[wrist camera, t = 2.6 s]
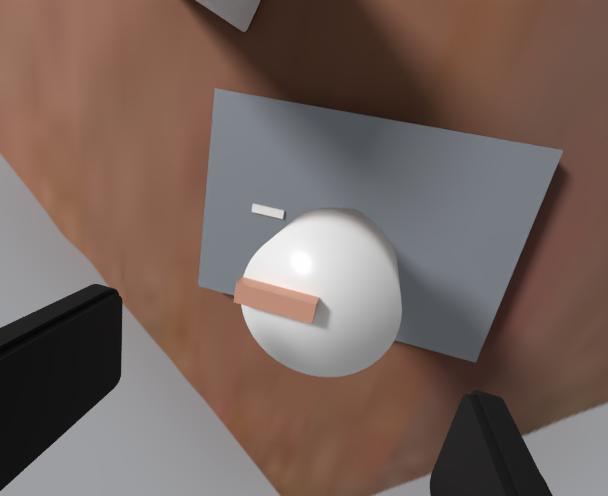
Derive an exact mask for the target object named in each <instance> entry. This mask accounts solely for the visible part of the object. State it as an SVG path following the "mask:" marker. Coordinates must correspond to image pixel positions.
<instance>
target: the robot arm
mask: <svg viewBox="0 0 608 496" xmlns="http://www.w3.org/2000/svg"><path fill="white" fill-rule="evenodd" d="M121 345H122V298H121V296H119V293H118V291H117V290H116V289H113V288H110V287H106V286H103V285H99V284H93V285H90V286H88V287H86V288H84V289H82V290H80V291H78V292H75V293H73V294H71V295H69V296H67V297H65V298H63V299H61V300H59V301H56V302H54V303H52V304H50V305H48V306H46V307H44V308H42V309H40V310H38V311H36V312H33V313H31V314H29V315H27V316H25V317H23V318H21V319H18V320H16V321H14V322H12V323H10V324H8V325H6V326H4V327H1V328H0V491H1V490H2V489H3V488H4V487H5V486H6V485H8V484H9V483H10V482H11V481H12V480H13V479H14V478H15V477H16V476H17V475H19V474H20V473H21V472H22V471H23V470H24V469H25V468H26V467H27V466H28V465H30V464H31V463H32V462H33V461H34V460H35V459H36V458H37V457H38V456H40V455H41V454H42V453H43V452H44V451H45V450H46V449H47V448H48V447H50V446H51V445H52V444H53V443H54V442H55V441H56V440H57V439H58V438H59V437H61V436H62V435H63V434H64V433H65V432H66V431H67V430H68V429H69V428H70V427H72V426H73V425H74V424H75V423H76V422H77V421H78V420H79V419H80V418H82V417H83V416H84V415H85V414H86V413H87V412H88V411H89V410H90V409H91V408H93V407H94V406H95V405H96V404H97V403H98V402H99V401H100V400H101V399H103V398H104V397H105V396H106V395H107V394H108V393H109V392H110V391H111V390H113V389H114V388H115V386H116V385H117V384H118V382H119V380H120V377H121V349H122V346H121ZM430 494H431V496H552V494H551V492H550V490H549V488H548V486H547V484H546V482H545V480H544V478H543V477H542V475H541V474H540V472H539V470H538V469H537V466H536V465H535V462H534V460H533V458H532V456H531V454H530V452H529V450H528V448H527V446H526V444H525V442H524V440H523V438H522V436H521V434H520V432H519V430H518V428H517V426H516V424H515V422H514V420H513V418H512V416H511V414H510V412H509V410H508V408H507V406H506V404H505V402H504V401H503V399H502V398H501V397H498V396H495V395H491V394H488V393H484V392H480V391H477V390H475V391H473V392H472V393H471V395H468V394H465V395H464V396H463V397H462V400H461V402H460V405H459V407H458V409H457V412H456V414H455V417H454V419H453V422H452V424H451V427H450V429H449V432H448V434H447V437H446V439H445V442H444V444H443V447H442V449H441V452H440V454H439V457H438V459H437V462H436V464H435V467H434V469H433V471H432V474H431V479H430Z"/></svg>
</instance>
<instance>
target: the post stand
mask: <svg viewBox="0 0 608 496" xmlns="http://www.w3.org/2000/svg"><path fill="white" fill-rule="evenodd" d="M562 152H563V150H558V149H553V148H547V147H542V146H536V145H530V144H525V143H519V142H513V141H508V140H502V139H497V138H491V137H485V136H480V135H474V134H468V133H463V132H457V131H451V130H446V129H440V128H435V127H429V126H423V125H418V124H412V123H406V122H401V121H395V120H390V119H384V118H378V117H373V116H367V115H361V114H356V113H350V112H345V111H339V110H333V109H328V108H322V107H316V106H311V105H305V104H300V103H294V102H288V101H283V100H277V99H271V98H266V97H260V96H255V95H249V94H243V93H238V92H232V91H226V90H221V89H215V93H214V104H213V116H212V128H211V140H210V151H209V163H208V175H207V187H206V198H205V210H204V222H203V234H202V245H201V257H200V269H199V281H198V286H201V287H204V288H208V289H212V290H215V291H219V292H222V293H226V294H230V295H233V296H234V294H235V286H236V282H237V281H238V280H239V279H241V278H242V277H243V276H244V273H245V270H246V268H247V266H248V264H249V262H250V260H251V259H252V257H253V256H254V255H255V253H256V252H257V251H258V250H259V249H260V248H261V247H262V246H263V245H264V244H265V243H267V242H268V241H269V240H270V239H271V238H273V237H274V236H275V235H276V234H277V233H279V232H280V231H281V230H282V229H283V228H285V227H286V226H287V225H288V224H289V223H291V222H292V221H293V220H295V219H296V218H297V217H299V216H301V215H302V214H304V213H307V212H309V211H312V210H315V209H319V208H327V207H336V208H344V209H348V210H352V211H355V212H357V213H360V214H362V215H364V216H365V217H367V218H369V219H370V220H372V221H373V222H374V223H375V224H377V225H378V226H379V227H380V228H381V229H382V230H383V232H384V233H385V234H386V236H387V237H388V238H389V240H390V242H391V244H392V246H393V249H394V251H395V254H396V259H397V265H398V274H399V283H400V292H401V303H402V316H401V323H400V327H399V330H398V333H397V335H396V338H395V341H399V342H403V343H406V344H410V345H414V346H417V347H421V348H424V349H428V350H432V351H435V352H439V353H442V354H446V355H450V356H453V357H457V358H460V359H464V360H468V361H471V362H475V363H476V361H477V359H478V356H479V354H480V351H481V349H482V347H483V344H484V342H485V339H486V337H487V334H488V332H489V330H490V327H491V325H492V322H493V320H494V317H495V315H496V313H497V310H498V308H499V305H500V303H501V300H502V298H503V296H504V293H505V291H506V288H507V286H508V283H509V281H510V279H511V276H512V274H513V271H514V269H515V266H516V264H517V262H518V259H519V257H520V254H521V252H522V249H523V247H524V245H525V242H526V240H527V237H528V235H529V233H530V230H531V228H532V225H533V223H534V220H535V218H536V216H537V213H538V211H539V208H540V206H541V203H542V201H543V199H544V196H545V194H546V191H547V189H548V186H549V184H550V182H551V179H552V177H553V174H554V172H555V169H556V167H557V165H558V162H559V160H560V157H561V155H562Z"/></svg>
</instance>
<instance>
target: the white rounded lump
mask: <svg viewBox="0 0 608 496" xmlns="http://www.w3.org/2000/svg"><path fill="white" fill-rule="evenodd" d="M234 303H238V304H241V306H242V311H243V315H244V318H245V321H246V324H247V326H248V328H249V330H250V332H251V333H252V335H253V336H254V338H255V340H256V341H257V342H258V343H259V345H260V346H261V347H262V348H263V349H264V350H265V351H266V352H267V353H268V354H269V355H270V356H272V357H273V358H274V359H275V360H277V361H278V362H280V363H282V364H283V365H285V366H287V367H289V368H291V369H293V370H296V371H298V372H301V373H304V374H308V375H312V376H320V377H338V376H345V375H349V374H353V373H356V372H359V371H361V370H363V369H365V368H367V367H369V366H371V365H372V364H373V363H375V362H376V361H378V360H379V359H380V358H381V357H382V356H383V355H384V354H385V353H386V352H387V350H388V349H389V348H390V347H391V345H392V343H393V341H394V340H395V338H396V335H397V333H398V330H399V327H400V323H401V316H402V303H401V292H400V283H399V274H398V265H397V259H396V254H395V251H394V249H393V246H392V244H391V242H390V240H389V238H388V237H387V236H386V234H385V233H384V232H383V230H382V229H381V228H380V227H379V226H378V225H377V224H375V223H374V222H373V221H372V220H370V219H369V218H367V217H365V216H364V215H362V214H360V213H357V212H355V211H352V210H348V209H344V208H336V207H327V208H319V209H315V210H312V211H309V212H307V213H304V214H302V215H301V216H299V217H297V218H296V219H295V220H293V221H292V222H291V223H289V224H288V225H287V226H286V227H285V228H283V229H282V230H281V231H280V232H279V233H277V234H276V235H275V236H274V237H273V238H271V239H270V240H269V241H268V242H267V243H265V244H264V245H263V246H262V247H261V248H260V249H259V250H258V251H257V252H256V253H255V255H254V256H253V257H252V259H251V260H250V262H249V264H248V266H247V268H246V270H245V273H244V276H243V277H242V278H241V279H239V280H238V281H237V282H236V286H235V294H234Z"/></svg>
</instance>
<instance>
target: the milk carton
mask: <svg viewBox="0 0 608 496" xmlns="http://www.w3.org/2000/svg"><path fill="white" fill-rule="evenodd" d="M196 1H197V2H199V3H200V4H202V5H203V6H205V7H206V8H208V9H209V10H211V11H212V12H214V13H215V14H217V15H218V16H220V17H221V18H223V19H224V20H226V21H227V22H229V23H230V24H232V25H233V26H235V27H236V28H238V29H239V30H241V31H242V32H246V31H247V29H248V27H249V25H250V23H251V21H252V18H253V16H254V14H255V12H256V10H257V8H258V5H259V3H260V1H261V0H196Z"/></svg>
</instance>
